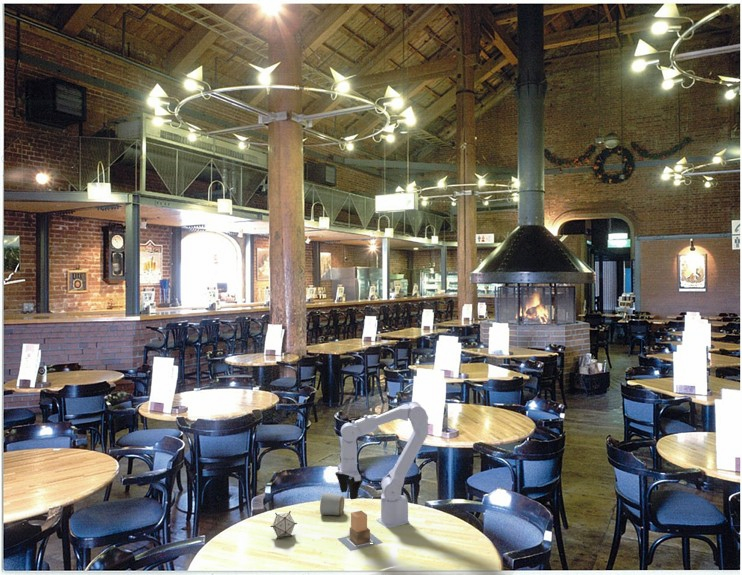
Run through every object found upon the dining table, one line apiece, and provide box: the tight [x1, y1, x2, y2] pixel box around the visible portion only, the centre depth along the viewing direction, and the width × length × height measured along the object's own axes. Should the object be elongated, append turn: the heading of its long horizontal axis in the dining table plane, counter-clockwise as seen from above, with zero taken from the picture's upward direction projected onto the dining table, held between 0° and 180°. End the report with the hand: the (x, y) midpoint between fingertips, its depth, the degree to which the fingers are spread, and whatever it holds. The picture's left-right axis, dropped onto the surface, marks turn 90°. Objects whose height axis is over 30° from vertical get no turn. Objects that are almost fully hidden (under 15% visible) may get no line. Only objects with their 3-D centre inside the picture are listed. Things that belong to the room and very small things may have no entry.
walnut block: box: [349, 526, 371, 545], centre depth 183 cm, size 5×5×4 cm
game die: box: [269, 510, 298, 540], centre depth 186 cm, size 9×8×10 cm
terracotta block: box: [350, 510, 368, 532], centre depth 182 cm, size 4×4×5 cm
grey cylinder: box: [319, 492, 345, 516], centre depth 207 cm, size 11×8×8 cm
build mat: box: [337, 532, 384, 552], centre depth 182 cm, size 12×10×1 cm
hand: (348, 495), depth 196 cm, fingers open, 7 cm apart
